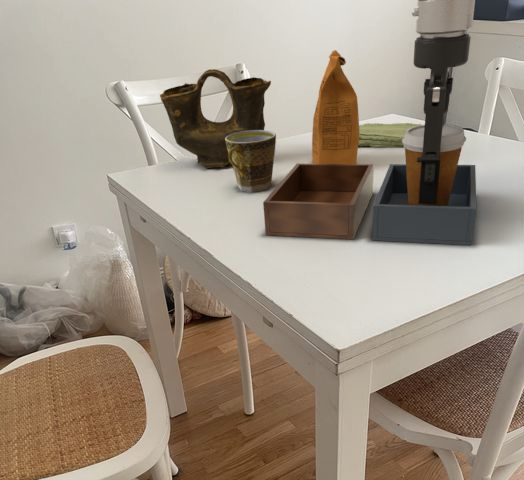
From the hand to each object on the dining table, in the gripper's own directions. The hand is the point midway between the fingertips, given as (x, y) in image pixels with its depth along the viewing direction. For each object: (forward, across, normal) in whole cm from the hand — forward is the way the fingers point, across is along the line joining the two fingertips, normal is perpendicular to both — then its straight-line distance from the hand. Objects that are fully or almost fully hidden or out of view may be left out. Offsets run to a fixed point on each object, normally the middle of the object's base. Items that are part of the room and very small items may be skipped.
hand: (429, 193), depth 88 cm
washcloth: (+4, -50, -12) cm, 52 cm away
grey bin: (+4, 0, 0) cm, 4 cm away
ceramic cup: (+4, -12, -35) cm, 38 cm away
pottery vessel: (+4, -30, -48) cm, 57 cm away
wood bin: (+4, 0, -18) cm, 18 cm away
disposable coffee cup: (+2, 0, 0) cm, 2 cm away
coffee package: (+4, -29, -21) cm, 36 cm away
